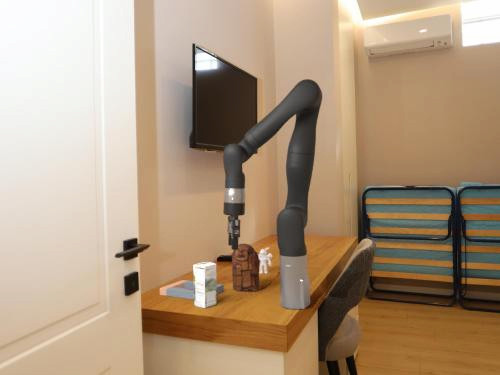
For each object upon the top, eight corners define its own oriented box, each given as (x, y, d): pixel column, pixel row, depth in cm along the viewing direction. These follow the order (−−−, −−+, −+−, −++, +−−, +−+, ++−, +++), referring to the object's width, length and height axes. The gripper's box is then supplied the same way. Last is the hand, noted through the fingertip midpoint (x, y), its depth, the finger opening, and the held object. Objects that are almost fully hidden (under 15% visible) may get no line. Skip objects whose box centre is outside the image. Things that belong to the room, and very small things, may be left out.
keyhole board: (223, 290, 154) (223, 284, 154) (202, 300, 141) (202, 293, 141) (182, 285, 163) (182, 279, 163) (159, 294, 151) (159, 288, 151)
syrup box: (205, 301, 140) (204, 261, 140) (217, 304, 136) (216, 262, 136) (193, 306, 136) (192, 263, 135) (205, 309, 132) (204, 265, 132)
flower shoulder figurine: (273, 272, 183) (273, 246, 183) (272, 274, 179) (271, 248, 179) (255, 271, 185) (254, 246, 185) (252, 273, 181) (252, 247, 181)
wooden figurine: (228, 291, 153) (227, 244, 153) (233, 286, 159) (232, 242, 159) (257, 292, 150) (256, 245, 150) (262, 288, 156) (260, 242, 156)
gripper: (248, 202, 132) (247, 251, 132) (241, 200, 146) (240, 244, 146) (226, 202, 130) (224, 251, 131) (221, 199, 144) (220, 244, 145)
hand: (233, 247), depth 138 cm, fingers open, 8 cm apart
